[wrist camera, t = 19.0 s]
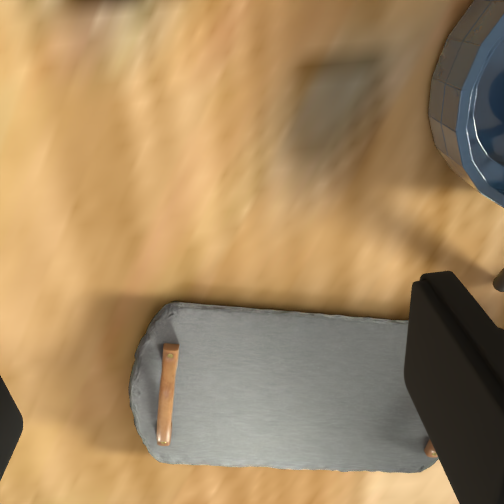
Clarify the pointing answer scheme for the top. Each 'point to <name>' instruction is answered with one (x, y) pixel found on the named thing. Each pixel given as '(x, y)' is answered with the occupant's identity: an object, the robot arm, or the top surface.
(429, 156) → the top surface
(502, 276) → the ladle
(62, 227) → the top surface
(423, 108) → the top surface
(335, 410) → the serving tray
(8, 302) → the top surface
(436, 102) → the bowl
